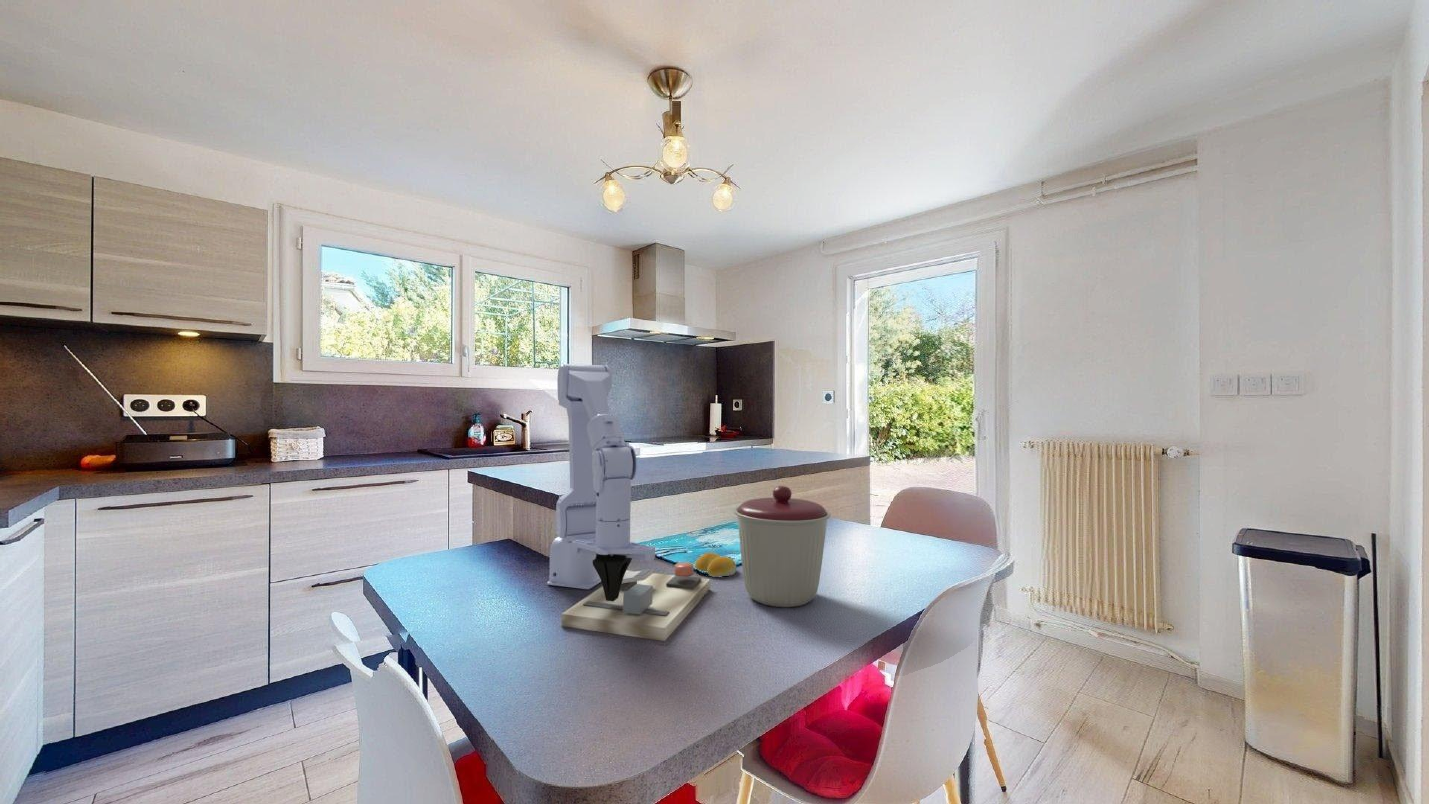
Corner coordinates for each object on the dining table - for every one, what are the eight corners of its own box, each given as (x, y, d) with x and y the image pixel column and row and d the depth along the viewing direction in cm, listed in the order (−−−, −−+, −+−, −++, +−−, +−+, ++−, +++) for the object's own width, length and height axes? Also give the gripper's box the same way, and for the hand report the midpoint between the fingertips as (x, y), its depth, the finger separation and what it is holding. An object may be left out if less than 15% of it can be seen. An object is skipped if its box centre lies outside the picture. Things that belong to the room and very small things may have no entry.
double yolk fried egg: (721, 581, 111) (721, 562, 111) (688, 573, 116) (688, 554, 116) (744, 572, 117) (744, 553, 117) (712, 564, 123) (712, 546, 123)
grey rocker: (605, 586, 100) (604, 581, 100) (615, 579, 103) (614, 574, 103) (644, 579, 97) (643, 575, 97) (653, 573, 101) (652, 568, 101)
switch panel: (561, 626, 87) (561, 606, 87) (625, 579, 110) (626, 564, 110) (664, 641, 82) (665, 620, 82) (709, 589, 105) (710, 573, 105)
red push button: (671, 575, 101) (671, 567, 101) (678, 570, 105) (678, 561, 105) (689, 577, 100) (690, 569, 100) (695, 571, 104) (696, 563, 104)
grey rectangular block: (623, 612, 87) (623, 593, 87) (636, 601, 92) (636, 583, 92) (640, 614, 86) (640, 595, 86) (652, 603, 91) (652, 585, 91)
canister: (824, 584, 110) (825, 480, 110) (835, 619, 92) (837, 495, 92) (735, 580, 111) (737, 478, 111) (729, 614, 93) (731, 492, 93)
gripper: (562, 519, 89) (561, 602, 89) (643, 526, 85) (642, 613, 85) (584, 511, 95) (583, 588, 95) (660, 517, 91) (659, 597, 91)
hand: (612, 599), depth 90 cm, fingers closed
